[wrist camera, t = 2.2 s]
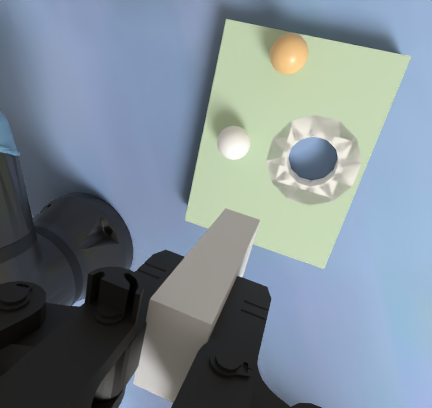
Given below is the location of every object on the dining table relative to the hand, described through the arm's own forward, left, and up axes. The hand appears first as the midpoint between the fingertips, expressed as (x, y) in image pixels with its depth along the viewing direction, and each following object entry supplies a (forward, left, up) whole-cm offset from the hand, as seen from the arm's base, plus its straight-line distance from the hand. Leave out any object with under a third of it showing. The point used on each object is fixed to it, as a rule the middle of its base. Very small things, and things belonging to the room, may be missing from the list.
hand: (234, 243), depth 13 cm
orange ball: (-3, +9, -20) cm, 22 cm away
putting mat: (-1, 0, -25) cm, 25 cm away
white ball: (-6, 0, -20) cm, 21 cm away
